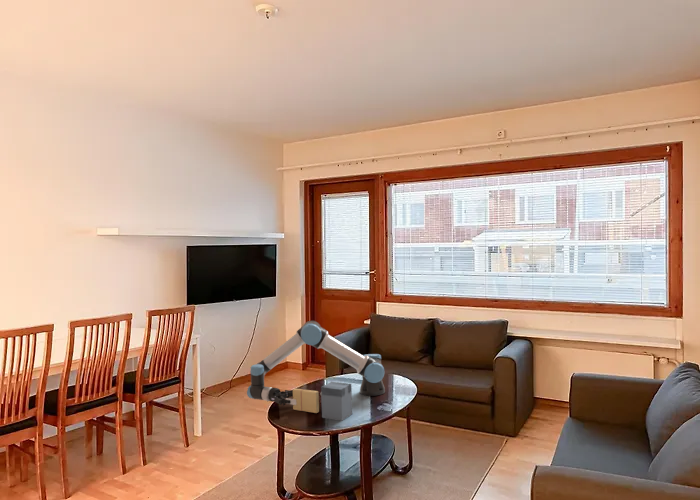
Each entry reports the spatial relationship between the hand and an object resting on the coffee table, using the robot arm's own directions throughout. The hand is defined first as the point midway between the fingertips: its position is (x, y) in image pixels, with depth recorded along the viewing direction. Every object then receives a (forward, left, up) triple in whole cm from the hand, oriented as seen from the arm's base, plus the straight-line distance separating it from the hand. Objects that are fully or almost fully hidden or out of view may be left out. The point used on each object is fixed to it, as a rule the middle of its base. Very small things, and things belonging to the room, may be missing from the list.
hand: (303, 398), depth 272 cm
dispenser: (-18, +11, -7) cm, 22 cm away
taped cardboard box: (-1, +1, -6) cm, 6 cm away
